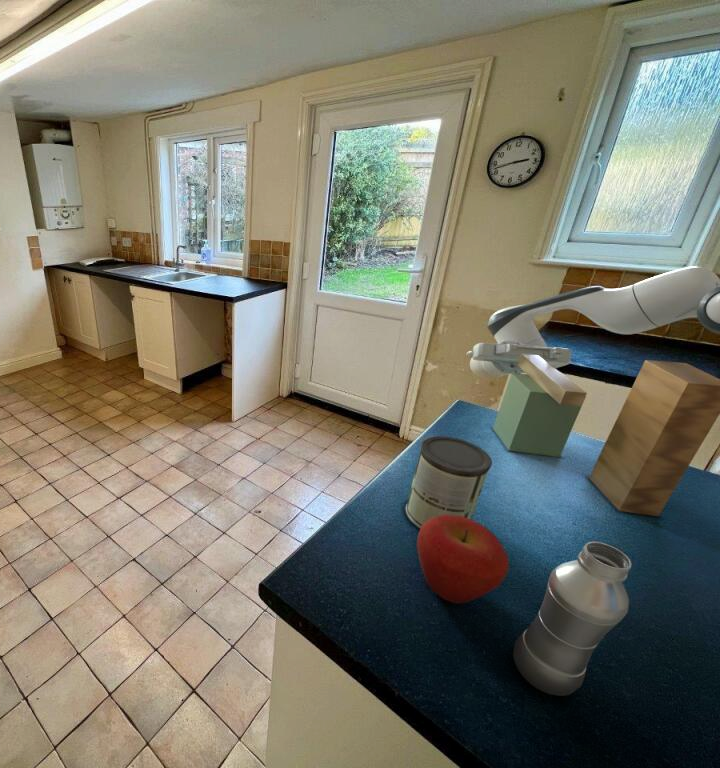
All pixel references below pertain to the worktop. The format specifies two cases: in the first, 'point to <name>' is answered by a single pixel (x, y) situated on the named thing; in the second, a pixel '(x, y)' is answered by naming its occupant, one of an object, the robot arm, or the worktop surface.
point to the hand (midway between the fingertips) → (536, 349)
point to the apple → (460, 558)
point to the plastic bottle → (573, 619)
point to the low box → (533, 418)
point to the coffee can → (447, 479)
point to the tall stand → (656, 435)
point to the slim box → (552, 380)
